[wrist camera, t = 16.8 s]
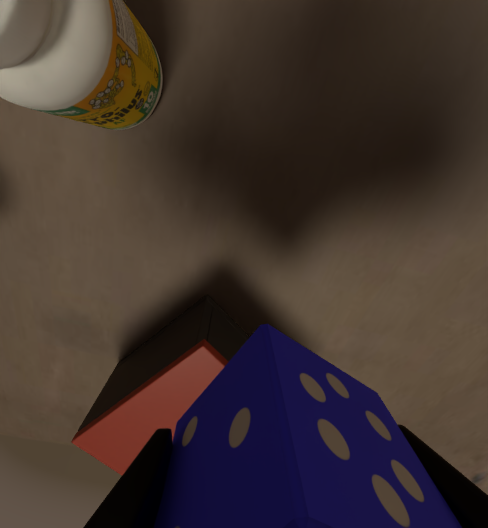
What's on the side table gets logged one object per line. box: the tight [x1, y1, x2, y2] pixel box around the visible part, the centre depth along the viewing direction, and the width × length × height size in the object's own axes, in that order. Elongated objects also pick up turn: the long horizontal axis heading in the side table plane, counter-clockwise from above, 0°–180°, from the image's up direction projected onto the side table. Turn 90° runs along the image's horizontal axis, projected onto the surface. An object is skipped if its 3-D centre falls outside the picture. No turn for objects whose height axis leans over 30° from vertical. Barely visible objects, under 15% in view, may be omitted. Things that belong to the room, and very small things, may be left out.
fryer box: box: [78, 295, 250, 431], centre depth 19 cm, size 9×10×6 cm
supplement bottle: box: [0, 0, 163, 130], centre depth 10 cm, size 5×5×10 cm
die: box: [154, 324, 462, 528], centre depth 7 cm, size 5×5×5 cm
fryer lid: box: [72, 339, 228, 475], centre depth 16 cm, size 10×10×1 cm
